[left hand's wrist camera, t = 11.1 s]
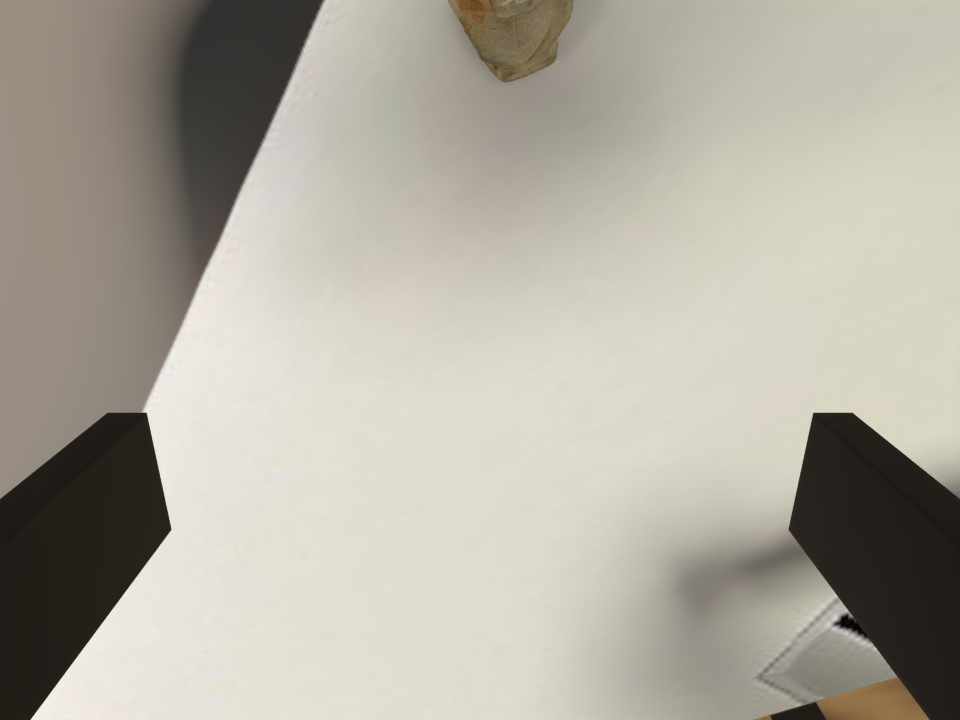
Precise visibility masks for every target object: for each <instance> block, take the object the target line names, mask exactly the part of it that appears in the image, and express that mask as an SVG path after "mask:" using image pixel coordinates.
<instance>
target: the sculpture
mask: <svg viewBox="0 0 960 720" xmlns="http://www.w3.org/2000/svg"><path fill="white" fill-rule="evenodd" d="M449 4H450V6H451V7H452V9H453V11H454V12H455V14H456V16H457V17H458V19H459V20H460V22H461V24H462V26H463V28H464V31H465V32H466V34H467V35H468V37H469V39H470V41H471V42H472V44H473V45H474V47H475V48H476V50H477V52H478V54H479V56H480V58H481V59H482V60H483V61H484V62H485V63H486V64H487V66H488V67H489V68H490V70H491V71H492V72H493V73H494V74H495V75H496V76H497V77H498V78H499V79H500V80H502V81H503V82H510V81H513V80H516V79H519V78H522V77H525V76H527V75H530V74H532V73H534V72H536V71H538V70H540V69H542V68H545V67H547V66H549V65H550V64H552V63H553V62H554V61H555V59H556V55H557V46H558V36H559V35H560V33H561V32H562V30H563V29H564V27H565V26H566V24H567V23H568V21H569V19H570V17H571V13H572V8H573V0H449Z"/></svg>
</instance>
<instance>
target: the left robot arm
mask: <svg viewBox="0 0 960 720" xmlns="http://www.w3.org/2000/svg"><path fill="white" fill-rule="evenodd" d="M170 531H171V525H170V520H169V516H168V511H167V506H166V502H165V497H164V492H163V487H162V483H161V478H160V473H159V469H158V464H157V459H156V455H155V450H154V445H153V441H152V436H151V431H150V426H149V422H148V417H147V413H107V414H106V415H104V416H103V417H102V418H101V419H99V420H98V421H97V422H96V423H94V424H93V425H92V426H91V427H89V428H88V429H87V430H86V431H84V432H83V433H82V434H81V435H79V436H78V437H77V438H76V439H74V440H73V441H72V442H71V443H69V444H68V445H67V446H66V447H65V448H63V449H62V450H61V451H60V452H58V453H57V454H56V455H55V456H53V457H52V458H51V459H50V460H48V461H47V462H46V463H45V464H43V465H42V466H41V467H40V468H38V469H37V470H36V471H35V472H33V473H32V474H31V475H30V476H28V477H27V478H26V479H25V480H23V481H22V482H21V483H20V484H19V485H17V486H16V487H15V488H13V489H12V490H11V491H10V492H8V493H7V494H6V495H5V496H4V497H2V498H1V499H0V720H31V718H32V717H33V716H34V714H35V713H36V712H37V710H38V709H39V708H40V706H41V705H42V703H43V702H44V701H45V699H46V698H47V697H48V695H49V694H50V693H51V691H52V690H53V689H54V687H55V686H56V685H57V683H58V682H59V681H60V679H61V678H62V677H63V675H64V674H65V672H66V671H67V670H68V668H69V667H70V666H71V664H72V663H73V662H74V660H75V659H76V658H77V656H78V655H79V654H80V652H81V651H82V650H83V648H84V647H85V646H86V644H87V643H88V641H89V640H90V639H91V637H92V636H93V635H94V633H95V632H96V631H97V629H98V628H99V627H100V625H101V624H102V623H103V621H104V620H105V619H106V617H107V616H108V615H109V613H110V612H111V610H112V609H113V608H114V606H115V605H116V604H117V602H118V601H119V600H120V598H121V597H122V596H123V594H124V593H125V592H126V590H127V589H128V588H129V586H130V585H131V584H132V582H133V581H134V579H135V578H136V577H137V575H138V574H139V573H140V571H141V570H142V569H143V567H144V566H145V565H146V563H147V562H148V561H149V559H150V558H151V557H152V555H153V554H154V553H155V551H156V550H157V548H158V547H159V546H160V544H161V543H162V542H163V540H164V539H165V538H166V536H167V535H168V534H169V532H170ZM789 531H790V532H791V534H792V535H793V536H794V538H795V539H796V540H797V542H798V543H799V544H800V546H801V547H802V548H803V550H804V551H805V553H806V554H807V555H808V557H809V558H810V559H811V561H812V562H813V563H814V565H815V566H816V567H817V569H818V570H819V571H820V573H821V574H822V575H823V577H824V578H825V579H826V581H827V582H828V584H829V585H830V586H831V588H832V589H833V590H834V592H835V593H836V594H837V596H838V597H839V598H840V600H841V601H842V602H843V604H844V605H845V606H846V608H847V609H848V610H849V612H850V613H851V615H852V616H853V617H854V619H855V620H856V621H857V623H858V624H859V625H860V627H861V628H862V629H863V631H864V632H865V633H866V635H867V636H868V637H869V639H870V640H871V641H872V643H873V644H874V646H875V647H876V648H877V650H878V651H879V652H880V654H881V655H882V656H883V658H884V659H885V660H886V662H887V663H888V664H889V666H890V667H891V668H892V670H893V671H894V672H895V674H896V675H897V677H898V678H899V679H900V681H901V682H902V683H903V685H904V686H905V687H906V689H907V690H908V691H909V693H910V694H911V695H912V697H913V698H914V699H915V701H916V702H917V703H918V705H919V706H920V708H921V709H922V710H923V712H924V713H925V714H926V716H927V717H928V718H929V720H960V499H959V498H958V497H956V496H955V495H954V494H953V493H952V492H950V491H949V490H948V489H947V488H945V487H944V486H943V485H942V484H940V483H939V482H938V481H937V480H935V479H934V478H933V477H932V476H930V475H929V474H928V473H927V472H925V471H924V470H923V469H922V468H920V467H919V466H918V465H917V464H915V463H914V462H913V461H912V460H910V459H909V458H908V457H907V456H905V455H904V454H903V453H902V452H900V451H899V450H898V449H897V448H895V447H894V446H893V445H892V444H890V443H889V442H888V441H887V440H886V439H884V438H883V437H882V436H881V435H879V434H878V433H877V432H876V431H874V430H873V429H872V428H871V427H869V426H868V425H867V424H866V423H864V422H863V421H862V420H861V419H859V418H858V417H857V416H856V415H854V414H853V413H813V417H812V422H811V426H810V431H809V436H808V441H807V445H806V450H805V455H804V459H803V464H802V469H801V473H800V478H799V483H798V487H797V492H796V497H795V502H794V506H793V511H792V516H791V520H790V525H789Z"/></svg>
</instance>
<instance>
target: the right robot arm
mask: <svg viewBox="0 0 960 720" xmlns="http://www.w3.org/2000/svg"><path fill="white" fill-rule="evenodd" d="M770 716H771V719H772V720H826V718H825V716H824V715H823V713H822V711H821V710H820V708H819V706H818V705H817V703H816V702H814V703H811V704H807V705H804V706H801V707H797V708H794V709H790V710H787V711H784V712H780V713H777V714H774V715H770Z"/></svg>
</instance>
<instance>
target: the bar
mask: <svg viewBox="0 0 960 720" xmlns="http://www.w3.org/2000/svg"><path fill="white" fill-rule="evenodd" d="M812 703H814V702H812ZM816 703H817V705H818V706H819V708H820V710H821V711H822V713H823V715H824V716H825V718H826V720H929V718H928V717H927V716H926V714H925V713H924V712H923V710H922V709H921V708H920V706H919V705H918V703H917V702H916V701H915V699H914V698H913V697H912V695H911V694H910V693H909V691H908V690H907V689H906V687H905V686H904V685H903V683H902V682H901V681H900V679H899V678H898V677H897V678H894V679H890V680H887V681H883V682H880V683H877V684H873V685H870V686H867V687H863V688H860V689H856V690H853V691H850V692H846V693H843V694H840V695H836V696H833V697H829V698H826V699H823V700H819V701H816ZM809 704H811V703H809ZM806 705H807V704H806ZM802 706H804V705H802ZM799 707H801V706H799ZM796 708H797V707H796ZM792 709H794V708H792ZM789 710H790V709H789ZM785 711H787V710H785ZM782 712H784V711H782ZM779 713H780V712H779ZM775 714H777V713H775ZM772 715H774V714H772ZM755 720H772V719H771V716H770V715H768V716H765V717H762V718H758V719H755Z"/></svg>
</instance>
